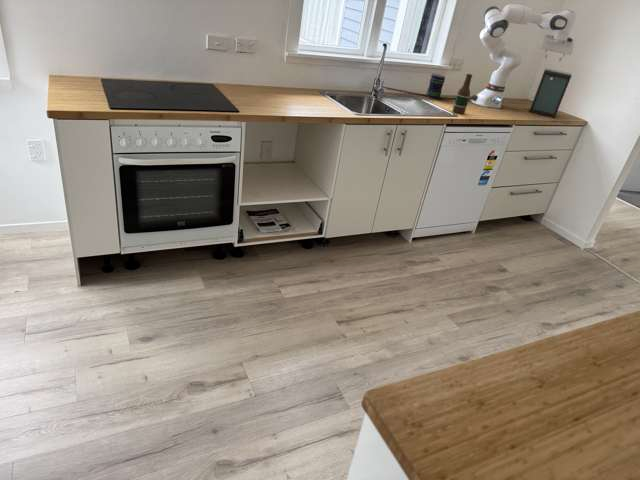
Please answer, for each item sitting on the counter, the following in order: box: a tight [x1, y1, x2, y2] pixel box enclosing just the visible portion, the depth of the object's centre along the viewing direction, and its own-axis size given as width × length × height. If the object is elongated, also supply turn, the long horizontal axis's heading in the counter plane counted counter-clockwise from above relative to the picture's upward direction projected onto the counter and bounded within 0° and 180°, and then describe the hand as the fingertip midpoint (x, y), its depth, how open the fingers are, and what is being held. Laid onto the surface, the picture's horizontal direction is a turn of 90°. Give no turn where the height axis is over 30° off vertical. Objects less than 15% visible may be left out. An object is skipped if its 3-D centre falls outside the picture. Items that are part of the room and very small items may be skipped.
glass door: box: [530, 72, 571, 117], centre depth 341 cm, size 9×17×26 cm, turn 65°
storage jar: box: [426, 73, 446, 100], centre depth 339 cm, size 10×10×15 cm
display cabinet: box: [528, 67, 573, 119], centre depth 349 cm, size 14×18×30 cm
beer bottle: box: [452, 73, 473, 115], centre depth 305 cm, size 8×8×24 cm
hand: (552, 59), depth 327 cm, fingers open, 8 cm apart
